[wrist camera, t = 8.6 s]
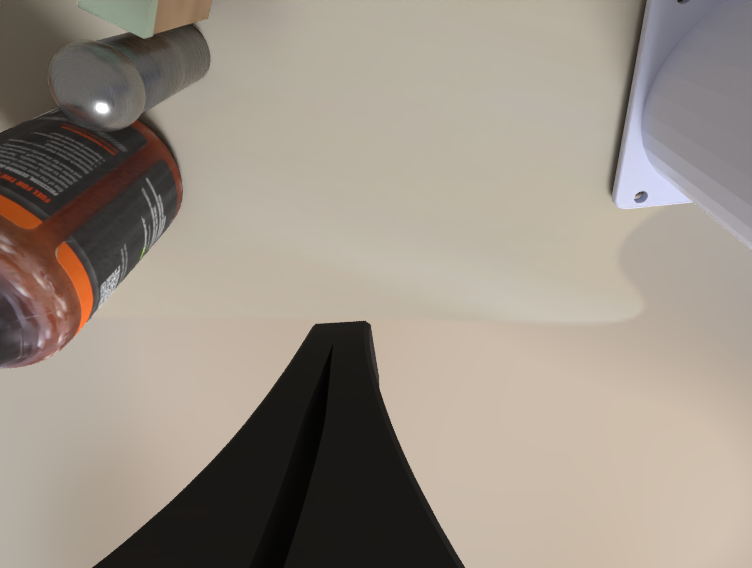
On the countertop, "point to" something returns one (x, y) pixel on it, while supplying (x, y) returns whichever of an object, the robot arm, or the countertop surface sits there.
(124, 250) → the supplement bottle
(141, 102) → the hinge pin
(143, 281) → the countertop surface
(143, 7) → the rail
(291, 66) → the countertop surface
